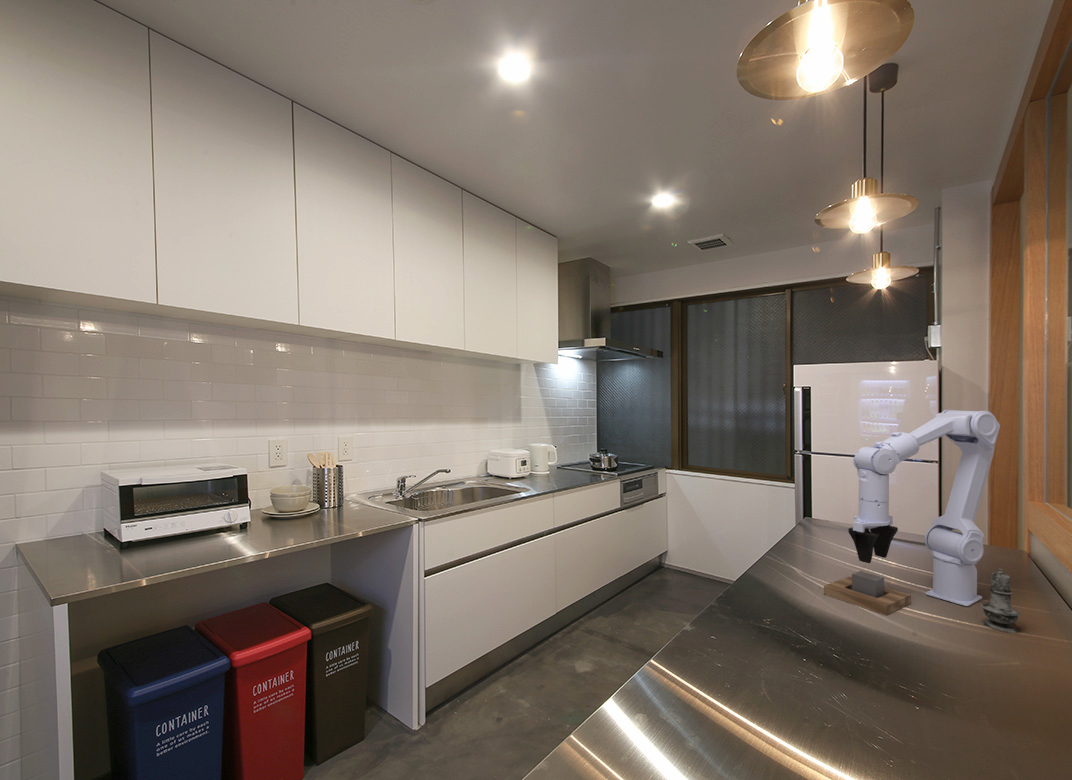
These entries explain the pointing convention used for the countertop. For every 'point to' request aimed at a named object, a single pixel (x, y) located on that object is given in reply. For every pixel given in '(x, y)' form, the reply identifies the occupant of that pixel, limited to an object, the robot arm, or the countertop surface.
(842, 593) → the socket frame
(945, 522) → the robot arm
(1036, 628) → the countertop surface
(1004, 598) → the weathered stone finial
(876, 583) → the plug
